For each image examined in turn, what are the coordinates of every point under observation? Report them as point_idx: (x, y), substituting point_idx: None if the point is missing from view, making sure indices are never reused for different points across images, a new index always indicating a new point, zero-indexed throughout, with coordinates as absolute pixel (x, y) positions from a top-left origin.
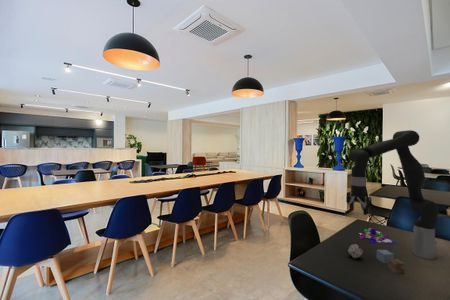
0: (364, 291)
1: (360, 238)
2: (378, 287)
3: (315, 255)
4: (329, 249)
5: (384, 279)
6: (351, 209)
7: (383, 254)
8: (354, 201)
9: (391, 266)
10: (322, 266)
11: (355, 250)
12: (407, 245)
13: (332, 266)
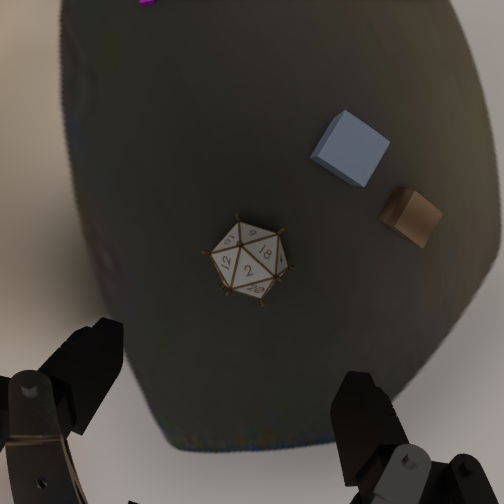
0: None
1: (148, 4)
2: (386, 374)
3: (157, 369)
4: (139, 273)
5: (390, 319)
6: (114, 373)
7: (361, 185)
8: (71, 468)
9: (397, 231)
10: (226, 410)
11: (265, 292)
12: None
13: (243, 389)
